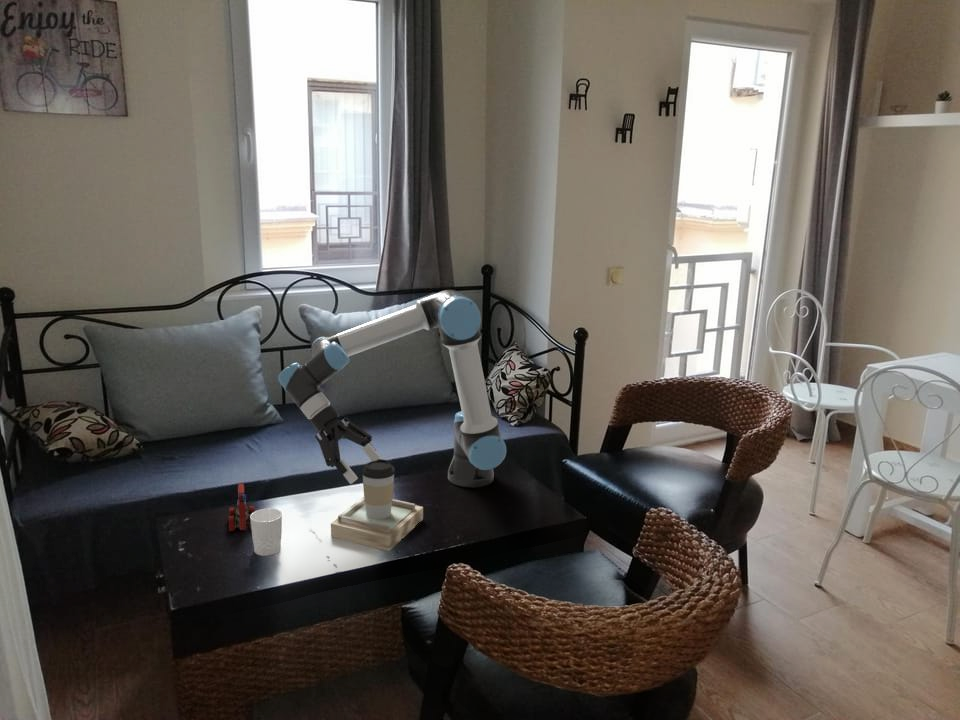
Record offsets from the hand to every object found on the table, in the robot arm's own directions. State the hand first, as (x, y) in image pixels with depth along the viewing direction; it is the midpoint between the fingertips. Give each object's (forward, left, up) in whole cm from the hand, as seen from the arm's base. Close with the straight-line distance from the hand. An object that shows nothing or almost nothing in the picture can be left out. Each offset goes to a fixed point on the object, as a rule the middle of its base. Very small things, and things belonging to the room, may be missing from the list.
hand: (367, 472), depth 199 cm
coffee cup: (-1, +3, -12) cm, 13 cm away
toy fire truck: (+14, -32, -17) cm, 39 cm away
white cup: (+22, -17, -17) cm, 33 cm away
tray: (-1, +3, -17) cm, 17 cm away
